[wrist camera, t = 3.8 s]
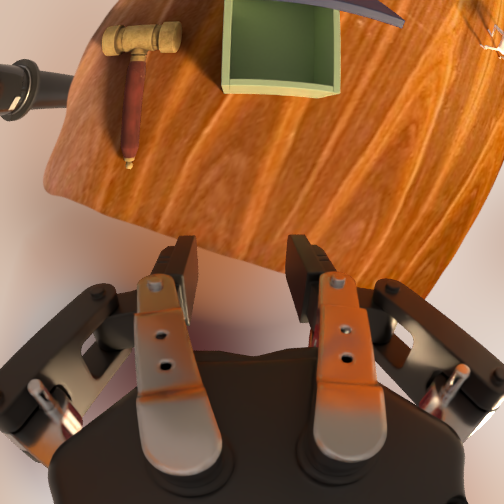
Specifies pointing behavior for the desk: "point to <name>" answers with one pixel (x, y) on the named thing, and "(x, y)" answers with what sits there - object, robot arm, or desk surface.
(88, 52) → the desk surface
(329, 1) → the lid
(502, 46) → the miniature stool
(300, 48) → the box
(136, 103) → the gavel
